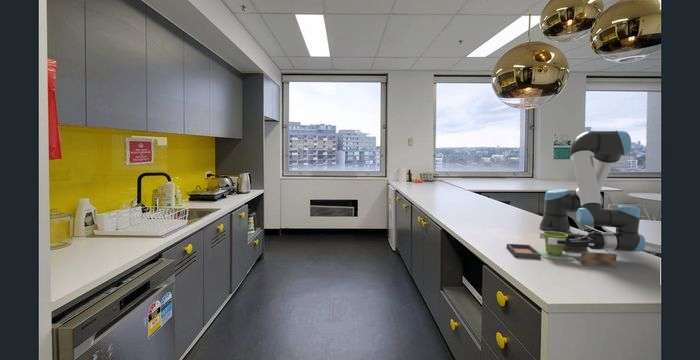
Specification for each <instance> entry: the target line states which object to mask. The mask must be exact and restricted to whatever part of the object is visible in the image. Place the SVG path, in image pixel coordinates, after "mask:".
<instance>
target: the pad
mask: <svg viewBox="0 0 700 360" xmlns="http://www.w3.org/2000/svg"><path fill="white" fill-rule="evenodd" d="M534 249H535V250H536V251H538V252H539V253H540V254H541V257H542V258H544V259H551V260H567V261H576V258H575V257H573V256H572V255H570V253H569V254H568V253H567V252H566V251H565V250H563V252H562V254H560V255H554V254H551V253H547V252H546V249H540V248H539V249H537V248H534Z"/></svg>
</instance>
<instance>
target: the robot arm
mask: <svg viewBox="0 0 700 360" xmlns="http://www.w3.org/2000/svg"><path fill="white" fill-rule="evenodd" d="M631 151H632V139H631V136H630V134H629V132H627V131H625V130H624V131H623V130H609V131H608V130H588V131H585V132H582V133H580V134H579V135H578V136H576V138H574V140H572V143H571V145H570V147H569V159H570V161H572V162H573V165H574V166H573V167H574V168H573V169H574V172H575V178H576V179H575V180H576V183H577V189H576V190H575V192H574V191H573V192H572V191H570V189H565V188H564V189H562V188H559V189H550V190H547V191H546V192H545V194H544V204H543V205H544V208H543V217H542V219H541V220H540V223H539V229H540V230H541V232H539V239H544V240H545V237H544V234H543V232H545V231H554V232H561V233H565V234H567V235H568V237H567V238H566V241H565V239H564V238H548V244H552V245H566V246H569V247H587V248H589V249H590V250H597V251H600V250H602V251H606V252H610V251H618V252H630V253H635V252H636V253H639V252H642V251H644V250H645V249H646V246H647V242H646V239H645V237H644V236H643V235H642V234H640V233H639V230H640V229H639V228H640V220H641V209H640V208H639V207H638V206H634V205H628V204H623V205H622V204H619V205H617V207H616V209H609V208H608V209H607V208H603V204H604V198H603V195H602V194H601V190H602V189H603V186H604V184H605V182H606V180H607V178H608V176H609V173H610V172H611V170H612V167H613V166H614V164H616V163H618V162H619V161H620V160H621V157H626V156H629V155H630V153H631ZM571 213H573V214H575V215H576V216H575V218H576V221H577V223H578V225H581V226H588V227H603V228H604V227H605V228H606V227H607V228H615V232H609V231H607V232H606V231H605V232H604V231H603V232H600V231H590V232H588V234H587V235H585V234H580V233H576V232H575V233H574V232H573V233H572V232H571V225H570V223H569V219H568V214H571ZM542 231H543V232H542ZM570 232H571V233H570Z"/></svg>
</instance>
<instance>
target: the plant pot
mask: <svg viewBox="0 0 700 360" xmlns="http://www.w3.org/2000/svg"><path fill="white" fill-rule="evenodd" d="M543 234H544V237H545V239H544V243H545V250H546V252H547V253H551V254H554V255H560V254H562V252H563V251H564V249H563V248H564V245H552V244H548V238H564V239H565V240H566V238H567V237H568V235H567V234H565V233H561V232H554V231H545V230H544V231H543Z"/></svg>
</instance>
